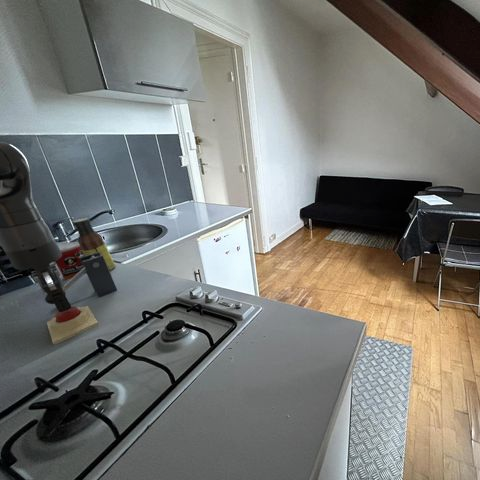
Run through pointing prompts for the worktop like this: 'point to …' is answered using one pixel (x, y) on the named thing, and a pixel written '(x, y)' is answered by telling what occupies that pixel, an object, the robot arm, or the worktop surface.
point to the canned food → (70, 259)
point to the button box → (71, 325)
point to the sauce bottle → (92, 241)
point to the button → (67, 314)
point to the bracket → (98, 274)
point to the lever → (69, 282)
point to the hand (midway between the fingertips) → (65, 309)
